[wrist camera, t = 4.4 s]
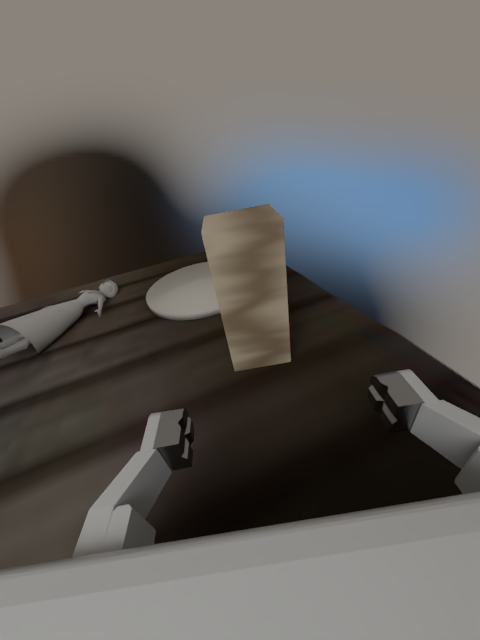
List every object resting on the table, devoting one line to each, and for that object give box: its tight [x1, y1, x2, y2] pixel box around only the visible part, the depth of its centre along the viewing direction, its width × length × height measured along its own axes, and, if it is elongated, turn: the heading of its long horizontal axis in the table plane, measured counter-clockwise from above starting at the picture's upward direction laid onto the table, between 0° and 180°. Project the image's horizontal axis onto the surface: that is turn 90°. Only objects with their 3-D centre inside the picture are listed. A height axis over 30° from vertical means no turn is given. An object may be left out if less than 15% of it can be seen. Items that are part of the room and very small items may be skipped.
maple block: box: [201, 204, 291, 371], centre depth 20 cm, size 5×5×12 cm
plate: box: [146, 262, 220, 320], centre depth 36 cm, size 16×16×1 cm
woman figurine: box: [0, 280, 118, 359], centre depth 33 cm, size 12×4×18 cm
